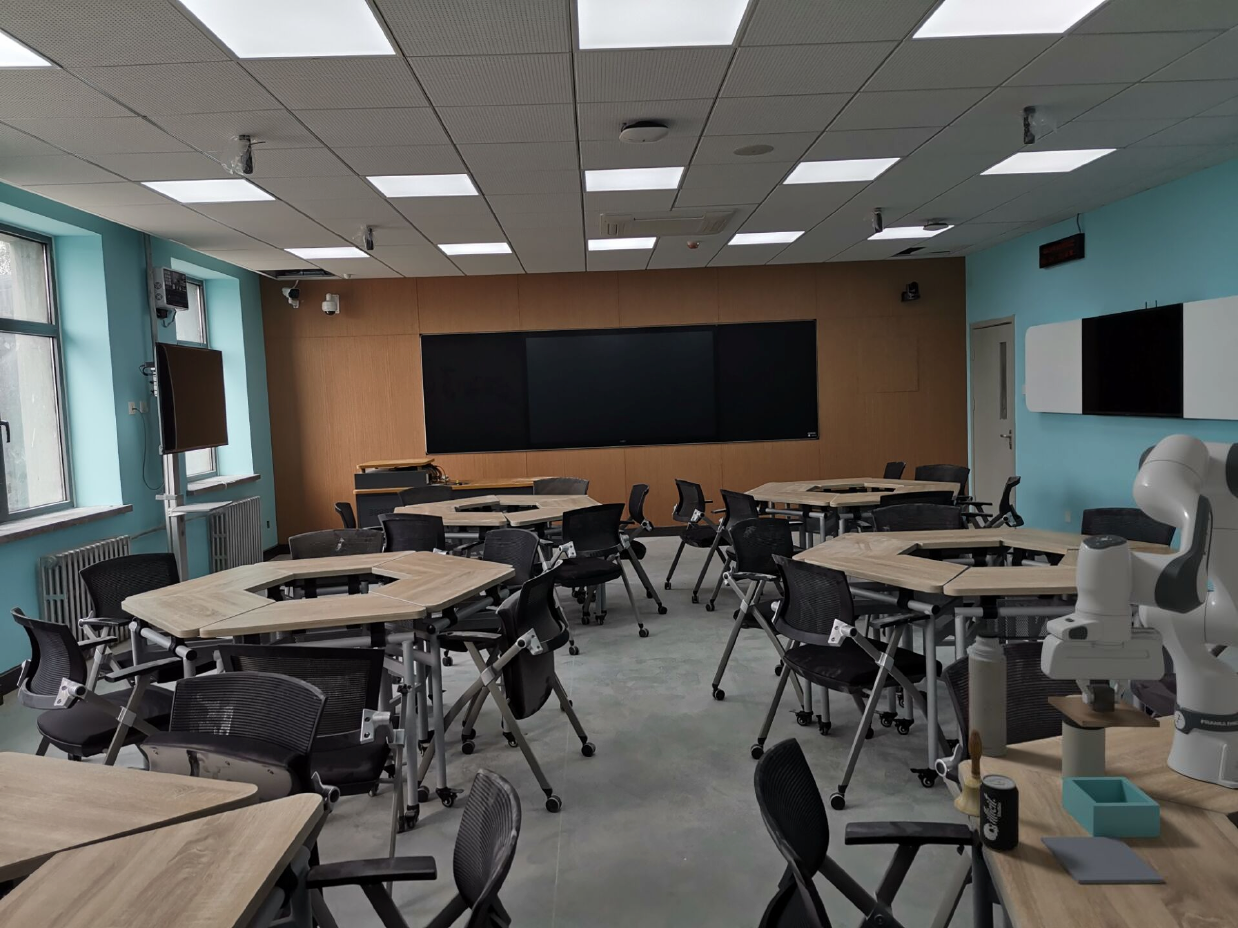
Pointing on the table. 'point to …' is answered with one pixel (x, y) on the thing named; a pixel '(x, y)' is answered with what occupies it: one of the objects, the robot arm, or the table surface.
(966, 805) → the hand bell
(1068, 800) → the dish
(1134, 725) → the lid
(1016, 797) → the beverage can
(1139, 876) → the tray
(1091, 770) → the travel mug
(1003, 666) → the thermos bottle
